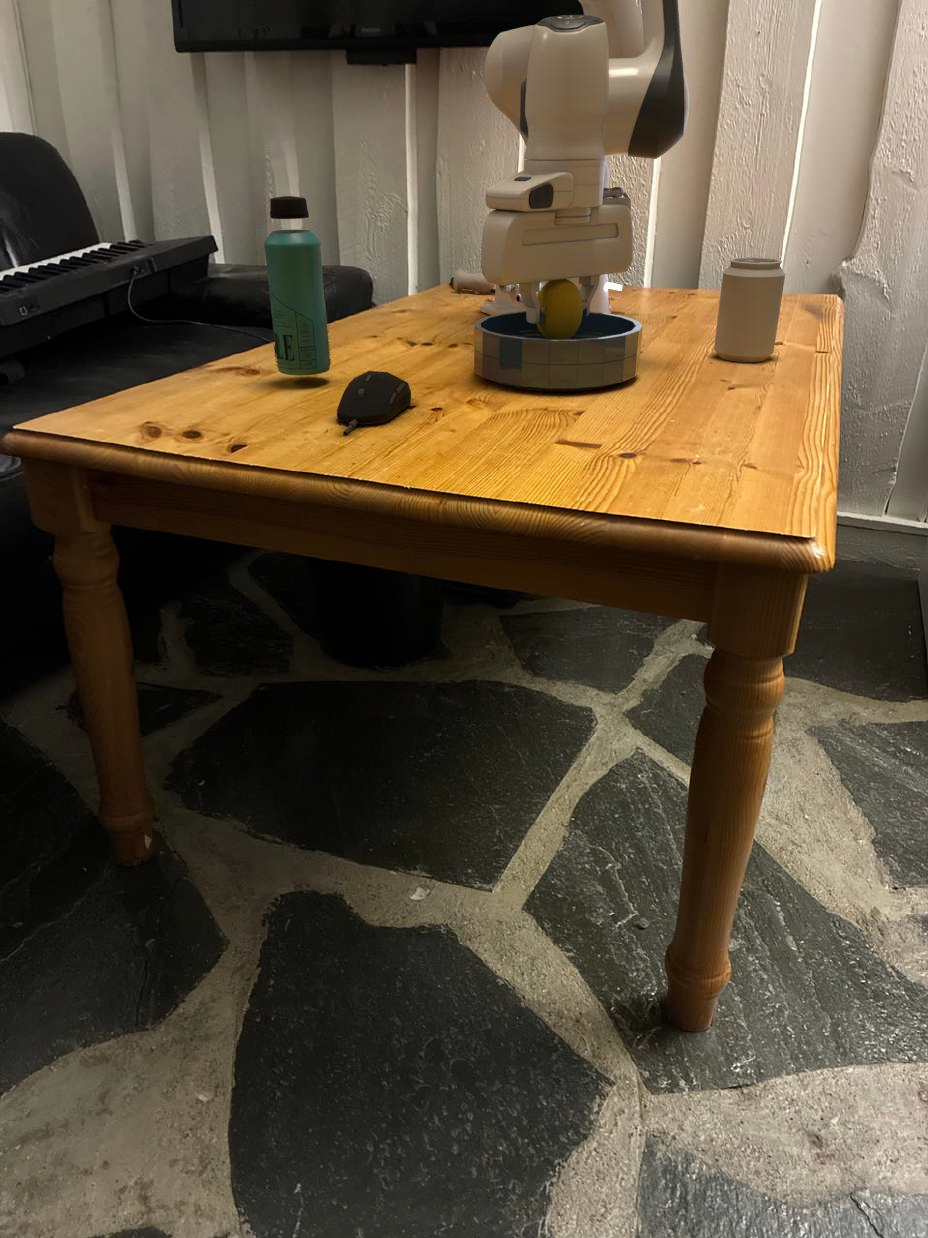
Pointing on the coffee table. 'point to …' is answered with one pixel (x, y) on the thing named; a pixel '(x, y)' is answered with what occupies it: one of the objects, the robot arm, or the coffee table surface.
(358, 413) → the gaming mouse
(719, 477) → the coffee table surface
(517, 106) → the robot arm
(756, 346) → the can
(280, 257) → the beverage bottle
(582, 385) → the bowl
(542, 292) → the lemon
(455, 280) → the smooth white sculpture
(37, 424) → the coffee table surface
